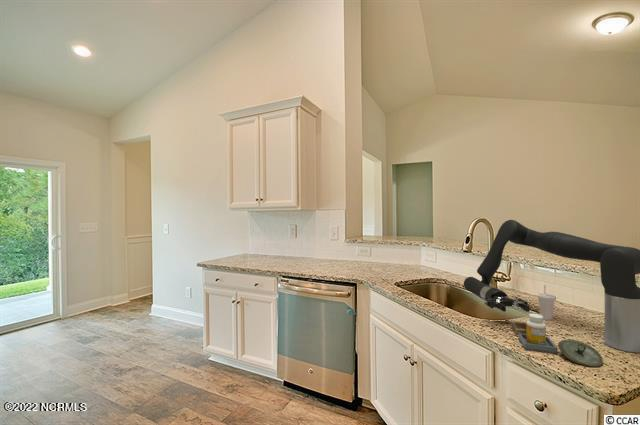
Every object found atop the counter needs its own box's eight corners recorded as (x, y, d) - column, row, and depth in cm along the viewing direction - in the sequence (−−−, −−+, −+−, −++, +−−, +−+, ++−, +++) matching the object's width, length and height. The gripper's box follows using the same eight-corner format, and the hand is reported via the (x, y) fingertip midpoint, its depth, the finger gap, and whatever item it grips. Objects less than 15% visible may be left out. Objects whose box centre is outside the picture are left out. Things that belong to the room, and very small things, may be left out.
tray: (548, 342, 103) (548, 337, 103) (557, 354, 95) (557, 348, 95) (518, 338, 106) (518, 333, 106) (524, 349, 98) (524, 343, 98)
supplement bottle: (527, 339, 105) (527, 311, 104) (546, 343, 101) (546, 315, 101) (525, 344, 100) (525, 316, 100) (545, 349, 97) (545, 319, 97)
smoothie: (538, 314, 130) (538, 282, 130) (557, 318, 125) (557, 285, 125) (535, 318, 125) (535, 285, 125) (554, 322, 121) (554, 288, 121)
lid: (586, 352, 96) (586, 336, 96) (612, 368, 86) (612, 351, 86) (550, 350, 97) (550, 335, 97) (573, 366, 87) (573, 350, 87)
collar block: (536, 329, 114) (536, 324, 114) (542, 338, 106) (542, 332, 106) (511, 326, 117) (511, 321, 117) (515, 334, 110) (515, 329, 110)
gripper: (476, 287, 128) (497, 299, 112) (510, 287, 127) (536, 299, 111) (476, 305, 128) (497, 318, 112) (510, 305, 127) (536, 319, 111)
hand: (516, 309), depth 112 cm, fingers open, 8 cm apart
